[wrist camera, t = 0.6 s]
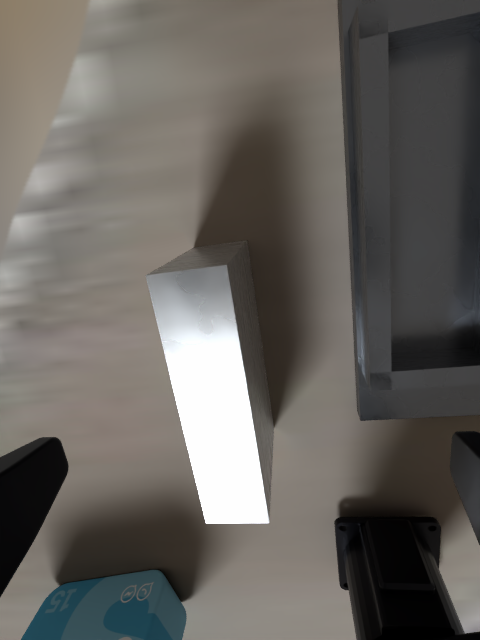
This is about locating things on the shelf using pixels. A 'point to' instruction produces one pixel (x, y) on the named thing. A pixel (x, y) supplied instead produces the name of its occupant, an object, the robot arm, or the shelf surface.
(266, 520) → the panel
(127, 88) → the shelf surface
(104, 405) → the shelf surface
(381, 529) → the robot arm
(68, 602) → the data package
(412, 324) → the rack
